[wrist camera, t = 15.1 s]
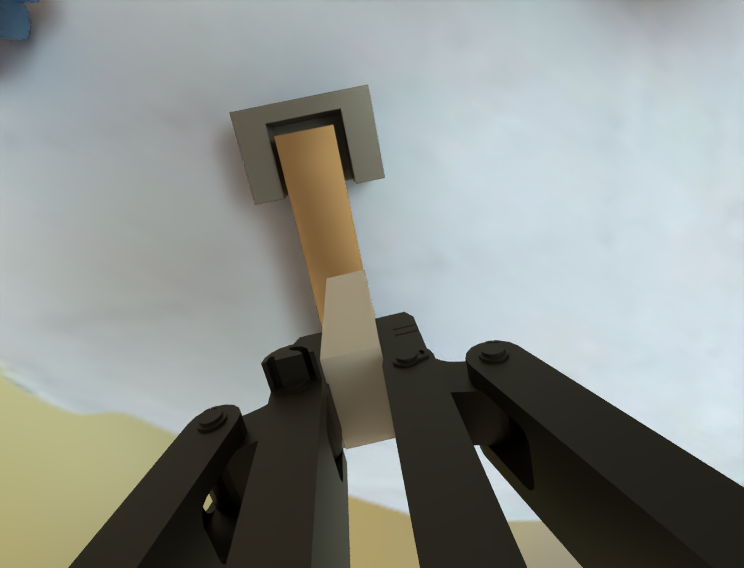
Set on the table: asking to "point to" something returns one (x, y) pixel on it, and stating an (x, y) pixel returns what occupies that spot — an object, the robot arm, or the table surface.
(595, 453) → the robot arm
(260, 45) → the table surface
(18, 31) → the grapes
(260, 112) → the end caps
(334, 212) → the slat
